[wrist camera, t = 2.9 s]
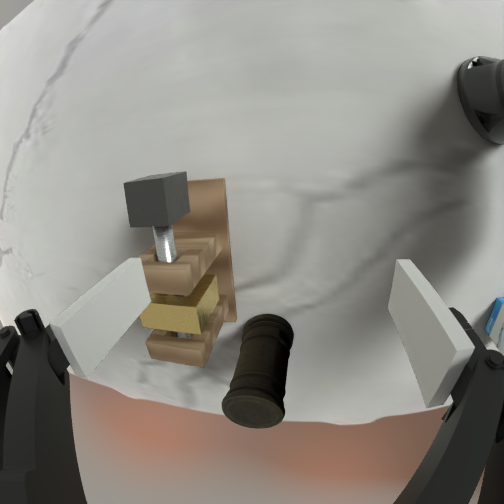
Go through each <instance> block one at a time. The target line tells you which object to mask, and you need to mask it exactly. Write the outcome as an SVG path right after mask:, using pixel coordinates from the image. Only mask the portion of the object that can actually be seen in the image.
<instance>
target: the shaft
mask: <svg viewBox="0 0 504 504" xmlns="http://www.w3.org/2000/svg"><path fill="white" fill-rule="evenodd" d="M124 189H125V197H126V203H127V210H128V216H129V222H130V227H153V233H154V239H155V245H156V251H157V256H158V261H159V262H176V261H177V260H178V258H177V252H176V245H175V239H174V232H173V225H172V224H173V223H174V222H176V221H177V220H179V219H180V218H182V217H183V216H185V215H186V214H188V213H189V212H190V204H189V194H188V184H187V174H186V172H176V173H167V174H159V175H151V176H147V177H143V178H139V179H136V180H132V181H129V182H125V183H124ZM165 295H166V296H177V297H184V295H174V294H165ZM174 332H175V331H174ZM175 336H176V337H178V338H186V339H191V338H192V336H193V335H192V334H191V333H183V332H175Z"/></svg>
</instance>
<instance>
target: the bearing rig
mask: <svg viewBox="0 0 504 504" xmlns="http://www.w3.org/2000/svg"><path fill="white" fill-rule="evenodd" d="M187 184H188V194H189V204H190V212H189V213H188V214H186V215H185V216H183V217H182V218H180V219H179V220H177V221H176V222H174V223H173V224H172V225H173V232H174V239H175V245H176V252H177V258H178V260H177V261H176V262H159V261H158V256H157V251H156V245H155V244H154V245H152V246H151V247H150V248H148V249H147V250H146V251H144V252H143V253H142V254H140V255H139V256H138V257H137V258H141V262H142V266H143V271H144V275H145V279H146V283H147V287H148V291H149V292H150V293H161V294H174V295H187V296H189V295H190V294H191V292H192V291H193V289H194V288H195V286H196V285H197V284H198V282H199V281H200V279H201V278H202V277H203V275H204V274H213V275H216V277H217V285H218V293H219V301H218V303H217V305H216V307H215V309H214V311H213V313H212V314H211V316H210V318H209V320H208V322H207V324H206V326H205V328H204V330H203V332H202V334H201V335H200V334H192V335H193V336H192V338H191V339H186V338H178V337H176V336H175V332H174V331H167V330H160V329H155V330H154V331H153V332H152V334H151V335H150V337H149V338H148V339H147V341H146V342H145V343H146V346H147V348H148V351H149V354H150V357H151V358H152V359H157V360H162V361H168V362H173V363H179V364H185V365H192V366H199V367H205V364H206V362H207V360H208V357H209V355H210V353H211V350H212V348H213V346H214V343H215V341H216V339H217V336H218V334H219V332H220V329H221V327H222V325H223V322H236V320H237V312H236V302H235V292H234V281H233V271H232V260H231V248H230V237H229V225H228V212H227V199H226V186H225V178H222V179H207V180H193V181H187Z"/></svg>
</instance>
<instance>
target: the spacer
mask: <svg viewBox="0 0 504 504" xmlns="http://www.w3.org/2000/svg"><path fill="white" fill-rule="evenodd" d="M149 295H150V299H151V302H150V303H149V305H148V306H147V307H146V308H145V309H144V310H143V312H142V313H141V314H140V315H139V316H140V319H141V322H142V326H143V327H147V328H153V329H160V330H167V331H175V332H183V333H191V334H200V335H201V334H202V332H203V330H204V328H205V326H206V324H207V322H208V320H209V318H210V316H211V314H212V313H213V311H214V309H215V307H216V305H217V303H218V301H219V293H218V285H217V277H216V275H213V274H204V275H203V277H202V278H201V279H200V281H199V282H198V284H197V285H196V286H195V288H194V289H193V291H192V292H191V294H190V295H189V296H187V295H184V297H177V296H166V295H165V294H161V293H150V292H149Z"/></svg>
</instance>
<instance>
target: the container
mask: <svg viewBox="0 0 504 504" xmlns="http://www.w3.org/2000/svg"><path fill="white" fill-rule="evenodd" d="M293 338H294V333H293V330H292V327H291V325H290V324H289V323H288V322H287V321H286V320H285V319H283V318H282V317H280V316H277V315H273V314H262V315H258V316H256V317H254V318H252V319H251V320H249V321H248V323H247V324H246V325H245V327H244V330H243V335H242V345H241V348H240V356H239V359H238V363H237V366H236V369H235V373H234V376H233V379H232V381H231V383H230V390H229V391H228V393H227V395H226V396H225V397H224V399H223V401H222V410H223V412H224V414H225V415H226V417H227V418H228V419H230V420H231V421H233V422H234V423H236V424H239V425H241V426H244V427H249V428H269V427H272V426H275V425H277V424H278V423H280V422H281V421H282V420H283V418H284V416H285V408H284V402H283V398H284V396H285V385H286V376H287V367H288V359H289V356H290V349H291V347H292V344H293Z"/></svg>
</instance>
